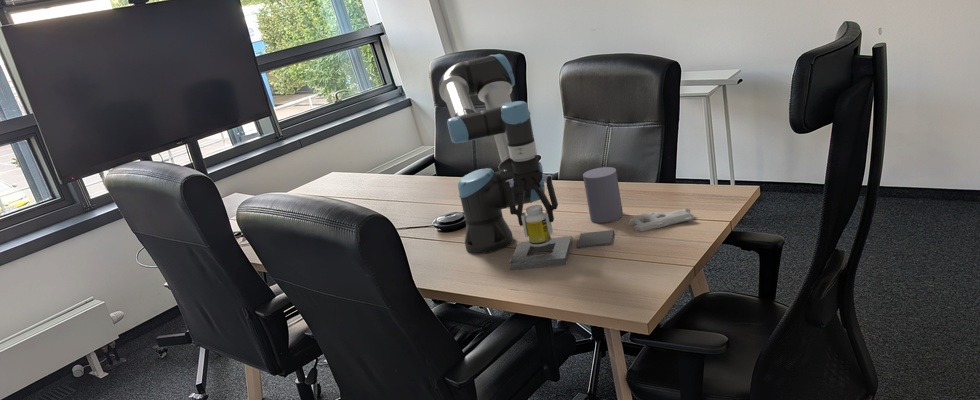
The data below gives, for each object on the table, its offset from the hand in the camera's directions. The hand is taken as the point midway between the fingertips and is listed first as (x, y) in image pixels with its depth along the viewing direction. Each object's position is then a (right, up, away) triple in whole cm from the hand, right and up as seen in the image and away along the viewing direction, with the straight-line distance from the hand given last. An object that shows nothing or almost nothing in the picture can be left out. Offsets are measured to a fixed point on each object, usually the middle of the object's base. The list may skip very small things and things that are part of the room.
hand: (538, 233), depth 214 cm
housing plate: (+1, -7, +2) cm, 7 cm away
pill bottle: (+1, -3, +1) cm, 3 cm away
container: (+23, +4, +21) cm, 32 cm away
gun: (+37, +2, +8) cm, 38 cm away
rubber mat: (+17, -2, +5) cm, 18 cm away
